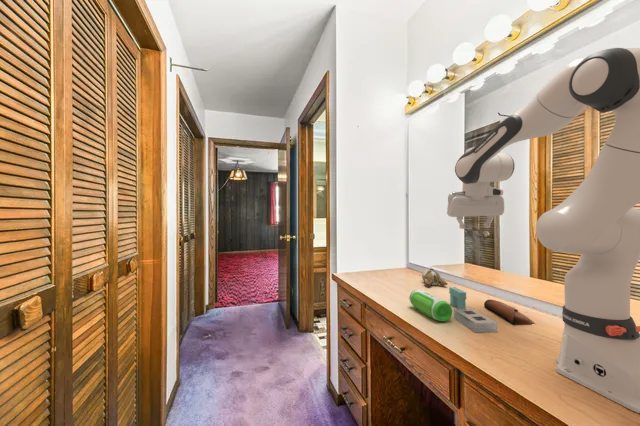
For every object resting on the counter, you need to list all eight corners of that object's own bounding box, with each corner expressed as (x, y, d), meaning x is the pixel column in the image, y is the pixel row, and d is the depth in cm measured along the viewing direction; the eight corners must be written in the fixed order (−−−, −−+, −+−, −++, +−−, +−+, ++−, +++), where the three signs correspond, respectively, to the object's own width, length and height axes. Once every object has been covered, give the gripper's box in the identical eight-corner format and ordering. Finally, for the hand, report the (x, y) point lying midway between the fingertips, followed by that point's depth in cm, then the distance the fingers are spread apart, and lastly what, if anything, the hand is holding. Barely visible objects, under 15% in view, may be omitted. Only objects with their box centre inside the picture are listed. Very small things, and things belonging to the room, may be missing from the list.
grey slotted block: (497, 331, 90) (497, 322, 90) (475, 332, 89) (475, 323, 89) (472, 316, 103) (472, 308, 102) (454, 317, 102) (453, 309, 102)
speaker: (453, 322, 98) (453, 300, 98) (435, 324, 97) (434, 302, 97) (424, 306, 115) (424, 287, 115) (408, 307, 114) (408, 288, 114)
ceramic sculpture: (436, 265, 155) (449, 272, 140) (436, 280, 155) (449, 289, 140) (416, 265, 155) (427, 273, 140) (417, 281, 155) (427, 290, 140)
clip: (466, 310, 109) (466, 292, 109) (460, 311, 108) (460, 292, 108) (455, 304, 117) (454, 287, 117) (449, 304, 116) (449, 287, 116)
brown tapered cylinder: (539, 324, 94) (528, 307, 94) (521, 335, 94) (510, 318, 94) (505, 306, 112) (496, 292, 112) (489, 316, 112) (480, 301, 112)
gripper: (452, 192, 102) (452, 230, 103) (507, 190, 103) (506, 228, 104) (444, 191, 108) (443, 227, 109) (496, 190, 109) (495, 225, 110)
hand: (474, 228), depth 107 cm, fingers open, 8 cm apart
